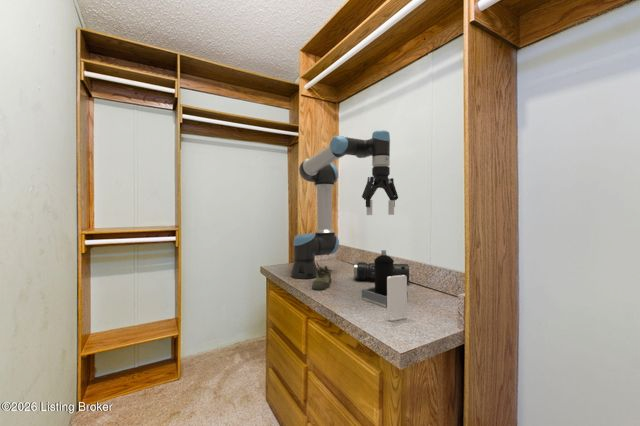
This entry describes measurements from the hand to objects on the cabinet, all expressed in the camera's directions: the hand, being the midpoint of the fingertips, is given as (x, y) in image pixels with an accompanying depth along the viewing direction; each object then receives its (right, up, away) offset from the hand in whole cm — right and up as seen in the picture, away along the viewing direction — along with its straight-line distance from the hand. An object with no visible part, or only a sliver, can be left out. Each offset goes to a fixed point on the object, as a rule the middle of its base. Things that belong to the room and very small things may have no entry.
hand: (380, 214), depth 125 cm
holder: (+1, -36, -5) cm, 36 cm away
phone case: (0, -36, -26) cm, 45 cm away
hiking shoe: (-25, -37, +17) cm, 47 cm away
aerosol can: (+1, -35, -5) cm, 36 cm away
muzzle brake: (+6, -36, +26) cm, 45 cm away
